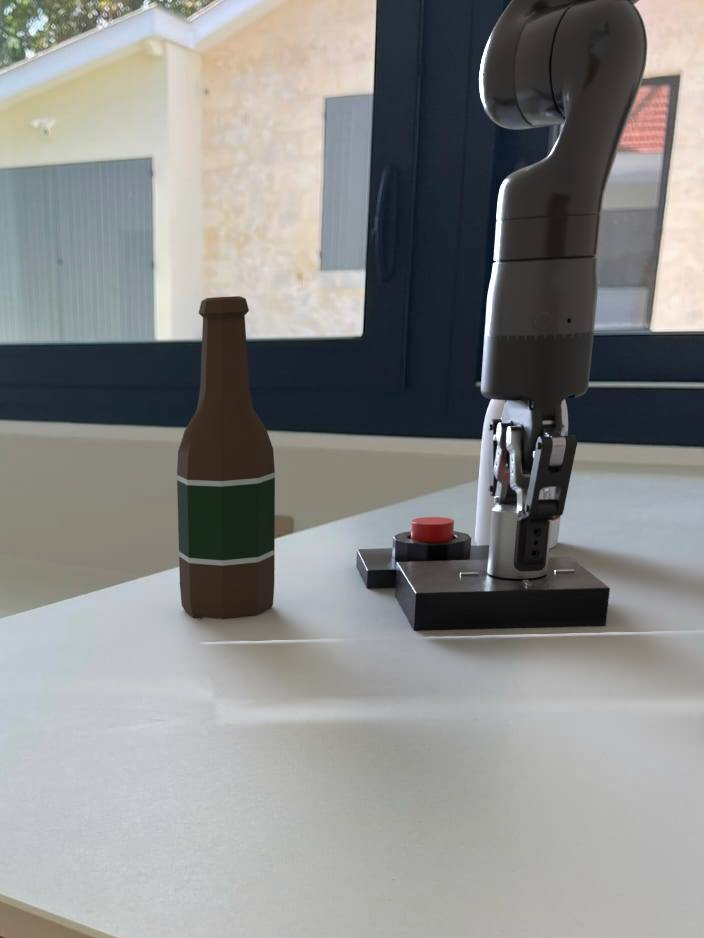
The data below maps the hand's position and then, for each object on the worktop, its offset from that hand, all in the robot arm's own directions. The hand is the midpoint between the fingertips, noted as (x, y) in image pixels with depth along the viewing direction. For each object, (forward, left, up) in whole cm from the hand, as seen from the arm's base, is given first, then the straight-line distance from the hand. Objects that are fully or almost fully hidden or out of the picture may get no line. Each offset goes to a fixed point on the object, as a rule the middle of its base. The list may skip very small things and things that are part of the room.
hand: (519, 561), depth 95 cm
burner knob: (0, 0, -1) cm, 1 cm away
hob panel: (+2, 0, -4) cm, 4 cm away
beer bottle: (+23, -3, -4) cm, 23 cm away
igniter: (+5, -13, -4) cm, 14 cm away
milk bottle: (-5, -25, -4) cm, 26 cm away
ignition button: (+5, -13, -1) cm, 14 cm away
